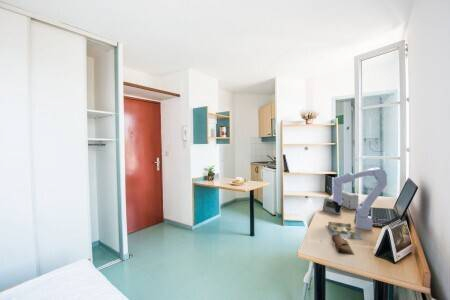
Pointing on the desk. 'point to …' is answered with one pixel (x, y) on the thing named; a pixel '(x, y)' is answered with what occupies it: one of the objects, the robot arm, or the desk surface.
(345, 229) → the panel
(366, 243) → the desk surface
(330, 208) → the digital clock
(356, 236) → the keyhole board
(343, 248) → the sunglasses case
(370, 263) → the desk surface
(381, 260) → the desk surface
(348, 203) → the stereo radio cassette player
